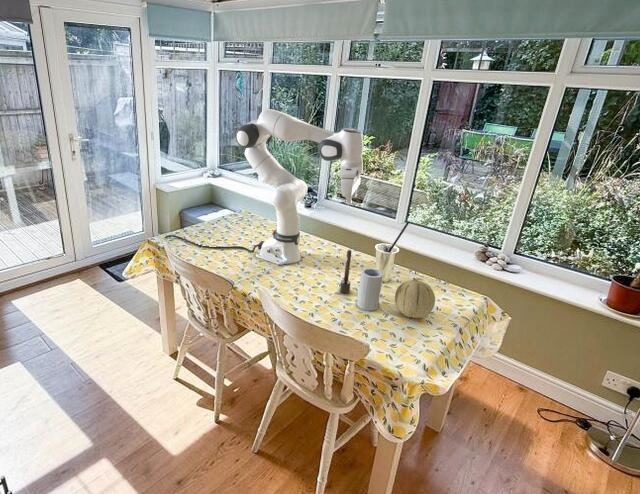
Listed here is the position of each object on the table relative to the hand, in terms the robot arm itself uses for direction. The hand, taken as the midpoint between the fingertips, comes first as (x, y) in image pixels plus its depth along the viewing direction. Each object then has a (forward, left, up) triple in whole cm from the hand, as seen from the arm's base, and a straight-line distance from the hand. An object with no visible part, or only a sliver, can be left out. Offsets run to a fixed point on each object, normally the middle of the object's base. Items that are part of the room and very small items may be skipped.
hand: (351, 200), depth 174 cm
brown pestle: (+4, -12, -37) cm, 39 cm away
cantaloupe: (+32, -17, -37) cm, 52 cm away
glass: (+17, +8, -37) cm, 42 cm away
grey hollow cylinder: (+15, -18, -37) cm, 44 cm away
